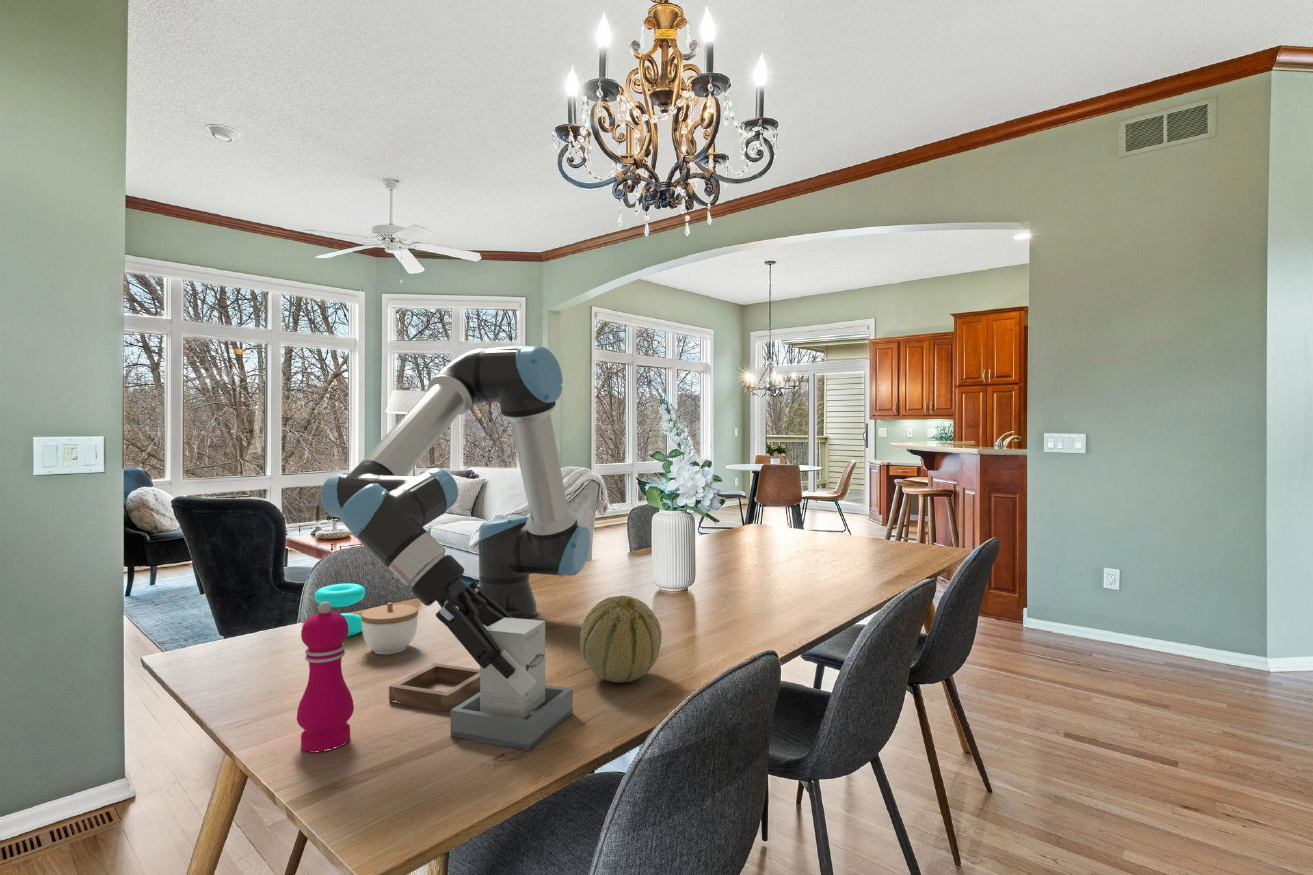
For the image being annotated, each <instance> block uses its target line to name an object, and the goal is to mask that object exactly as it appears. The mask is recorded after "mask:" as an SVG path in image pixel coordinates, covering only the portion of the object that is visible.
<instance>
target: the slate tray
mask: <svg viewBox="0 0 1313 875" xmlns="http://www.w3.org/2000/svg"><path fill="white" fill-rule="evenodd" d="M573 693H574V690H573V688H569V687H561V686H555V685H548V684H545V701H544V702H543V703H541V704H540V705H539V706H538V707H537V708H536V709H534V710H533V711H532V712H531V713H530V714H529V715H528V716H527V717H526V718H525V719H520V718H514V717H508V716H502V715H496V714H491V713H485V712H480V691H479V692H478V693H476V694H475V695H473V696H471V697H470V698H468V699H467V700H465V701H463V702H462V703H460V704H459V705H457V706H455V707H454V708H452V709H451V710H450V737H452V736H456V737H455V738H457V737H458V739H462V738H466V739H465V740H468V739H469V741H473V740H475V741H474V742H478V743H484V744H490V745H493V746H494V745H495V746H501V747H506V748H511V749H514V750H515V749H517V750H521V751H525V752H531V751H532V749H534V748H535V747H536V746H537V745H538V744H540V743H541V742H542V741H543V740H544V739H545V738H546V737H547V736H548V735H550V734H551V733H552V732H553V731H554V730H556V729H557V727H559V726H560V725H561V724H562V723H564V722H565V720H567V719H569V717H570V716H571V715H572V714H574V709H573V708H574V700H573V698H574V697H573V696H574V695H573Z"/></svg>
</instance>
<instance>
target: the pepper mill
mask: <svg viewBox="0 0 1313 875" xmlns="http://www.w3.org/2000/svg"><path fill="white" fill-rule="evenodd" d="M317 609H318V612H317V613H316V614H313V615H312V616H310V617H309V618H308V619H306V620H305V622H304V623H303V625H302V628H301V630H300V631H301V632H300V633H301V636H300V638H301V640H302V643H303V644H304V645H306V647H307V648H306V649H305V651H304V653H305V658H304V659H305V661H306V662H308V664H309V665H308V666H309V667H308V668H309V670H308V671H309V672H308V674H309V675H308V681H307V685H306V687H305V689H304V692H303V695H302V696H301V699H300V701H299V704H298V707H297V713H296V722H297V724H298V726H299V727H300V728H301V729H303V731H302V732H301V734H300V748H301V747H302V748H301V749H302V750H303V749H304V750H306V751H305V752H307V751H324V750H327V749H333V748H334V747H338V746H340V745H342V744H344V743H345V742H347V741H348V740H349V741H350V739H351V725H350V724H349V723H348V721H349V720H350V718H351V717H353V716H352V715H353V713H354V709H355V705H354V700H353V697H352V693H351V691H350V690H349V687H348V686H347V683H346V681H345V679H344V676H343V670H342V660H343V657H344V656H345V655H346V652H345V648H346V645H345V644H344V641H345V640H346V639H347V638H348V637H347V635H348V630H349V629H348V623H347V620H346V619H345V617H344V616H343V615H341V614H342V613H339V612H336V611H332V610H333V607H332V605H331V603H329V602H322V603H321V604H318V606H317ZM349 741H348V742H349ZM348 742H347V743H348ZM344 745H345V744H344ZM304 750H303V751H304ZM333 750H334V749H333Z"/></svg>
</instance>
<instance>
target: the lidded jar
mask: <svg viewBox="0 0 1313 875" xmlns="http://www.w3.org/2000/svg"><path fill="white" fill-rule="evenodd" d="M418 615H419V608H418V607H417V606H414V605H411V604H401V603H400V604H399V603H398V604H394V603H393V602H387V603H386V605H380V606H376V607H371V608H369V609H366V610H364V611H362V612H361V614H360V616H361V620H362V631H361V632H362V636H363V640H364V642H365V644H366V645H367V647H369V648H370V649H371V650H372V651H373V652H375V654H376V653H377V655H393V654H398V653H401V652H404V651H405V650H406V649H407V646H409V645H410V644H411V642H412V641H413V640H414V639H415V636H416V633H417V629H418V621H419V620H418V619H419V617H418ZM397 652H398V653H397Z"/></svg>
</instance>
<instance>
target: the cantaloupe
mask: <svg viewBox="0 0 1313 875" xmlns="http://www.w3.org/2000/svg"><path fill="white" fill-rule="evenodd" d="M661 628H662V627H661V624H660V622H659V620H658V618H657V617H656V615H655V612H654V611H653V610H652V609H651V608H650V607H649V606H648V605H647V604H646V603H645V602H644V601H642V600H640V599H639V598H635V597H633V596H629V595H617V596H615V595H614V596H609V597H607V598H604V599H603V600H601V601H599V602H598V603H596V604H595V606H593V607H591V609H590V611H589V612H588V613H587V614H586V616H585V618H584V620H583V623H582V626H581V630H580V634H579V648H580V649H579V650H580V653H581V656H582V659H583V661H584V662H585V664H586V665H587V667H588V668H589V669H590V671H591V672H592V673H593V674H595V675H596V677H598V678H600V679H602V680H604V681H607V682H613V683H618V684H622V683H630V682H633V681H636V680H638V679H640V678H641V677H643V676H645V675H646V674H647V673H649V671H650V670H651V669H652V668H653V667H654V665H655V664H656V662H657V660H658V657H659V653H660V648H661V644H662V629H661Z"/></svg>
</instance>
